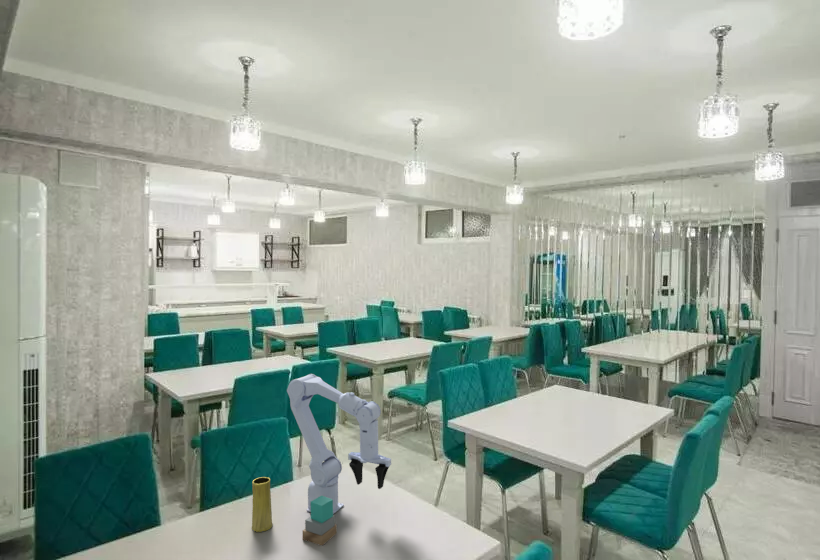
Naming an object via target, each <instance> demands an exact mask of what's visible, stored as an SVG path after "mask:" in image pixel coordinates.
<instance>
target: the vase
mask: <svg viewBox="0 0 820 560" xmlns="http://www.w3.org/2000/svg"><path fill="white" fill-rule="evenodd" d="M251 484H252V485H251V486H252V510H251V511H252V513H251V514H252V516H251V530H252V531H253V530H254V531H253V532H255V531H256V532H255V533H263V532H262V531H264V532H267V531H268V530H271V528H272V527H273V519H272V516H273V512H272V498H271V497H272V494H271V493H272V492H271V478H270V477H269V476H268V477H267V476H261V477H257V478H255V479H253V480H252V483H251Z"/></svg>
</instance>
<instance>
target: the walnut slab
mask: <svg viewBox="0 0 820 560" xmlns="http://www.w3.org/2000/svg"><path fill="white" fill-rule="evenodd" d="M337 526H338V525H337V524H336V523H335V526H334V527H332V528H331V529H330V530H328V531H327V532H326V533H324V534H323V535H322V536H321V535H318V534H315V533H312V532H309V531H306V530H305V528H304V529H302V540H303V541H306V542H309V543H312V544H315V545H318V544H319V546H323V545H324V544H326V543H327V542H328V541H330V540H331V539H332V538H333V537H335V536H336V535H337V529H338V528H337Z"/></svg>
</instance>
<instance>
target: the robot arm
mask: <svg viewBox="0 0 820 560" xmlns="http://www.w3.org/2000/svg"><path fill="white" fill-rule="evenodd" d="M286 392H287V394H288V397H289V401H290V402H289V404H290V409H291V412H292V414H293V416H294V418H295V420H296V423H297V426H298V428H299V430H300V433H301V435H302V438H303V440H304V443H305V445H306V447H307V450H308V452H309V454H310V457H311V459H310V462H309V464H308V469H310V478H311V481H310V483H309V485H308V487H307V508H306V511H307V512H310V513H311V501H313V500H315V499H316V498H318V497H320V496H325V497H327V498H330V499H333V515H334V514H335V513H337V512H338V511H339V510H341V508H343V507H344V506H345V505H344V503H340V502H339V475H340V474H341V473H342V470H343V466H342V462H341V461H340V459H339V458H338V457H337V456H336V455H335V452H334V451H332V450H330V449H328V448H327V445H326V443H325V440H324V438H323V435H322V434H321V432H320V428H319V427H318V424H317V422H316V419H315V418H314V414H313V413H312V410H311V408H310V402H311V400H312V398H313V397H314V395H319V396H321V397H323V398H326V399H328V400H329V401H332V402H335V403H337V404H338V407H339V409H341V410H342V411H343V412H346V413H347V414H349V415H351V416H352V417H355V419H356V421H357V422H358V428H359V452H355V451H350V452H349V453H348V455H347V457H348V459H347V460H348V461H350V462H349V465H348V466H349V467H350V469H351V471H352V473H353V475H354V478H355V481H356V482H355V483H356V485H358V486H359V485H360V484H361V483H363V467H364V466H363V465H364V464H367V463H370V464H375V465H377V466H376V467H374V468H375V469H374V470H375V472H376V479H377V489H378V490H380V489H382V488H383V487H384V484H385V479H386V475H387V473H388V470H389V468H390V466H391V465H392V458H391V457H387V456H384V455H381V454H380V453H379V422H378V421H379V418H380V416H381V414H382V413H381V412H382V411H381V406H379V404H378V403H376V401H372V400H371V401H367V399H362V398H361V397H359V396H357V395H355V392H352V391H351V392H349V391H347V392H345V393H343V392H341V391H340V390H338V389H336V387H334V386H332V385H330V384H328V383H327V382H325V381H324V380H323V379H322V378H321V377H320V376H317V375H315V374H314V373H309V374H307V375H305V376H301V377H299V378H295V379H294V378H293V379H292V380H290V382H289V384H288V386H287V388H286Z"/></svg>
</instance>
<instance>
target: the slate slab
mask: <svg viewBox="0 0 820 560" xmlns="http://www.w3.org/2000/svg"><path fill="white" fill-rule="evenodd" d="M335 517H336V516H335V515H334V514H333V517H331V518H329V519H328V520H326V521H325V522H323V523H320V522H318V521H315V520H313V519H311V515H310V516H309V517H307V518H306V519H305V520H304V521H305V523H304V525H305V526H304V529H305V530H306V531H309V532H312V533H315V534H318V535H321V536H322V535H323V534H324V533H326V532H327V531H328V530H330V529H331V528H332V527H334V526H335V524H336V523H335V522H336V521H335Z"/></svg>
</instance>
